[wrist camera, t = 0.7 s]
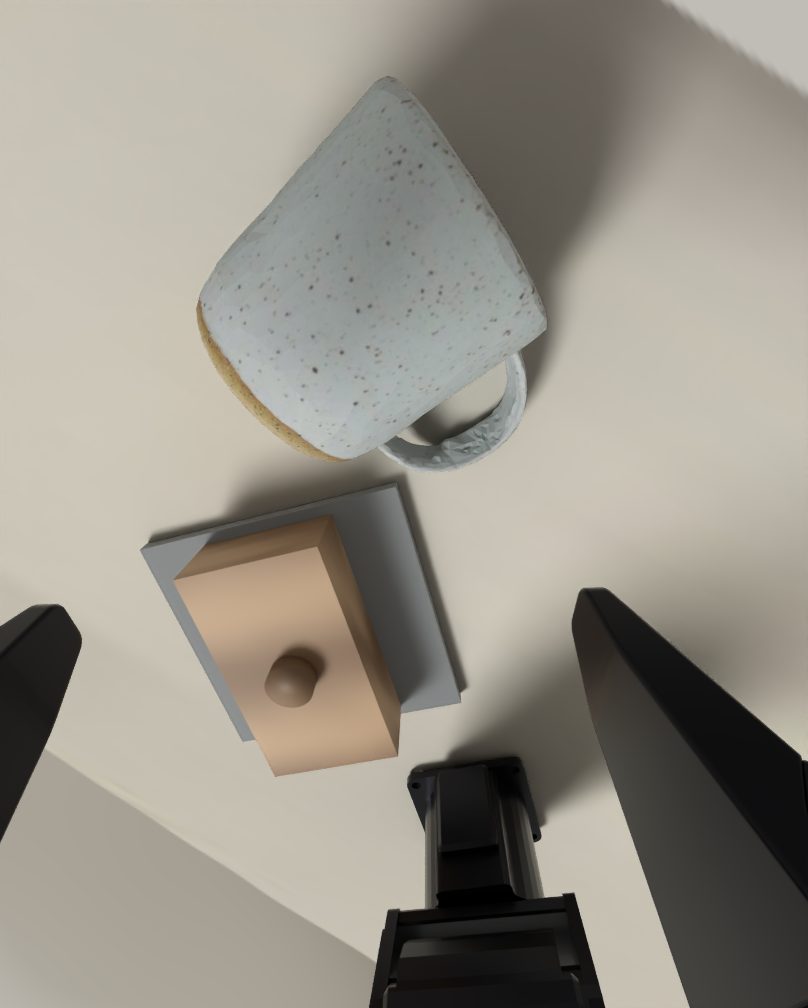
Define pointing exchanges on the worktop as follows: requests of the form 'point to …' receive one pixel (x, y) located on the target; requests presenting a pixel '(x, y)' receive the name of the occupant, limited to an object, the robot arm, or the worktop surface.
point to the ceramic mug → (373, 295)
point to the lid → (295, 645)
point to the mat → (380, 578)
